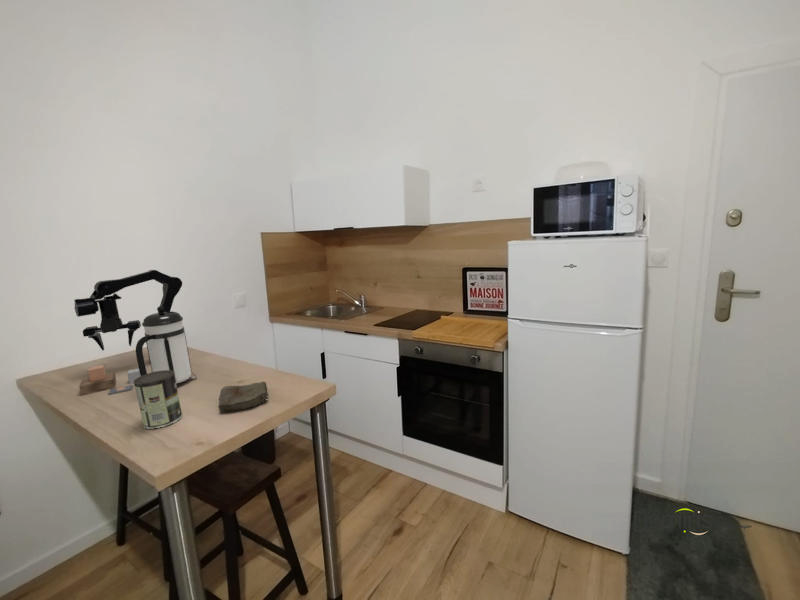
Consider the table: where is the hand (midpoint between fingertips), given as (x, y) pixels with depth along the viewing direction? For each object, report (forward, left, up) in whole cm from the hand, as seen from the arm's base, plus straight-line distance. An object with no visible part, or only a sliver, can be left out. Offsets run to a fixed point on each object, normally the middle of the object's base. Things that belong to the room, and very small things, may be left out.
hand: (117, 348), depth 159 cm
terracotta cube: (+5, +15, -8) cm, 17 cm away
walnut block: (+5, +15, -12) cm, 20 cm away
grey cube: (-7, +16, -11) cm, 21 cm away
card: (-3, +24, -11) cm, 27 cm away
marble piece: (-42, +63, -12) cm, 77 cm away
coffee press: (-20, +31, -11) cm, 39 cm away
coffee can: (-19, +63, -11) cm, 67 cm away
